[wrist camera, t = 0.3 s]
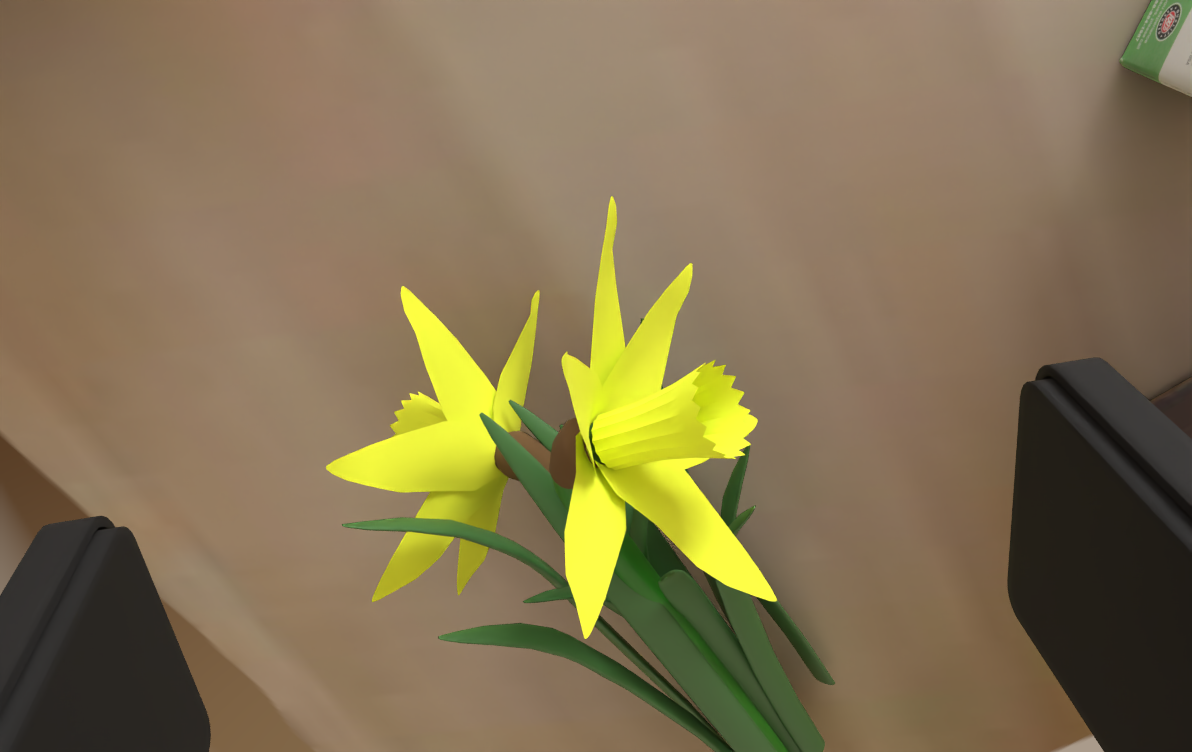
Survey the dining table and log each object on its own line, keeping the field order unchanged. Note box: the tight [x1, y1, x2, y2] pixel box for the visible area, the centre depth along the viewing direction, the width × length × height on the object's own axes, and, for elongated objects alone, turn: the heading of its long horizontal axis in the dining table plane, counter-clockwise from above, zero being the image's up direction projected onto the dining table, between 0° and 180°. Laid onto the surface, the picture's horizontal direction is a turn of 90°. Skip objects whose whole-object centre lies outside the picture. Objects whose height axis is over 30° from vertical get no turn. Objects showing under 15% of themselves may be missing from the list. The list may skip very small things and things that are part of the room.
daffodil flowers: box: [326, 196, 835, 752], centre depth 42 cm, size 17×15×35 cm
